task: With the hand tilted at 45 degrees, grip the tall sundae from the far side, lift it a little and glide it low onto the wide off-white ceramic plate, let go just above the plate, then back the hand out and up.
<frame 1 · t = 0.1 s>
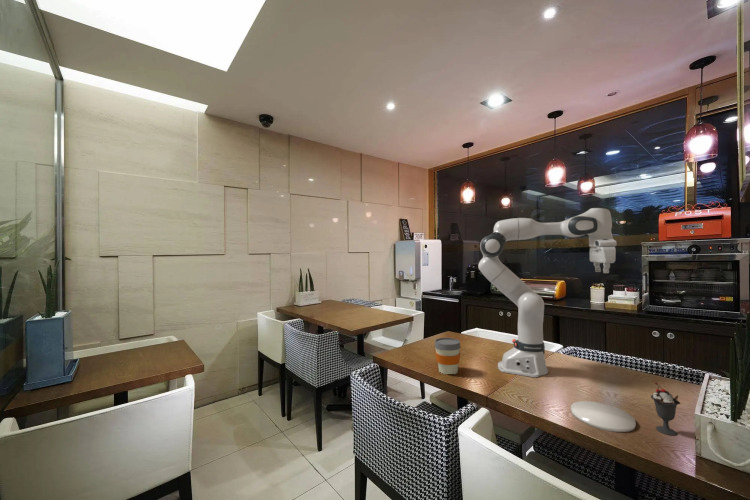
hand: (601, 272, 139), 48 cm above the table, tool pointing down, fingers open, 8 cm apart
sundae: (666, 431, 96), on the table
serving plate: (601, 417, 105), on the table
reusable coffee cup: (448, 371, 149), on the table
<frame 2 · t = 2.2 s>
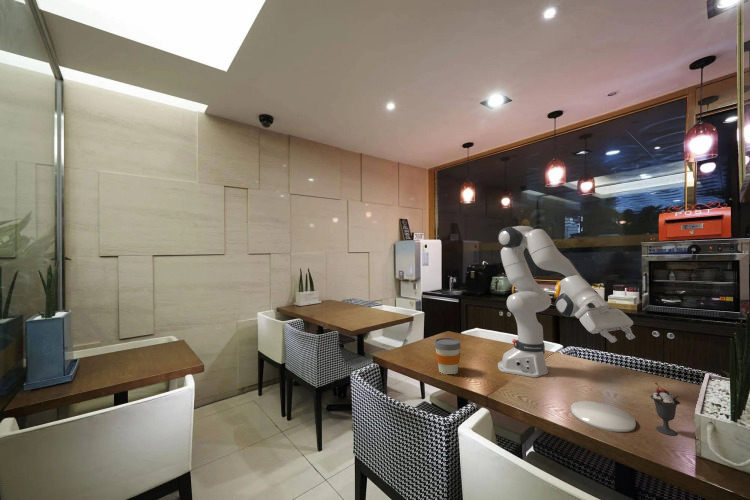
hand: (623, 340, 108), 26 cm above the table, tool tilted 45°, fingers open, 8 cm apart
nothing on the table moved.
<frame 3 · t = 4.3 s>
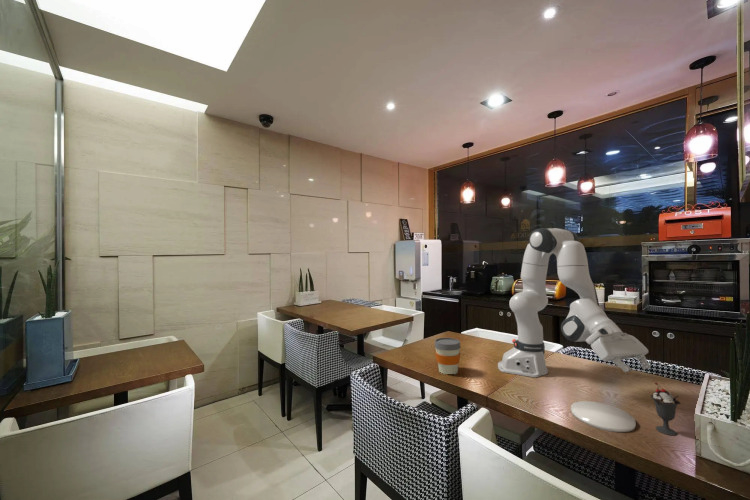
hand: (638, 369, 103), 17 cm above the table, tool tilted 45°, fingers open, 8 cm apart
nothing on the table moved.
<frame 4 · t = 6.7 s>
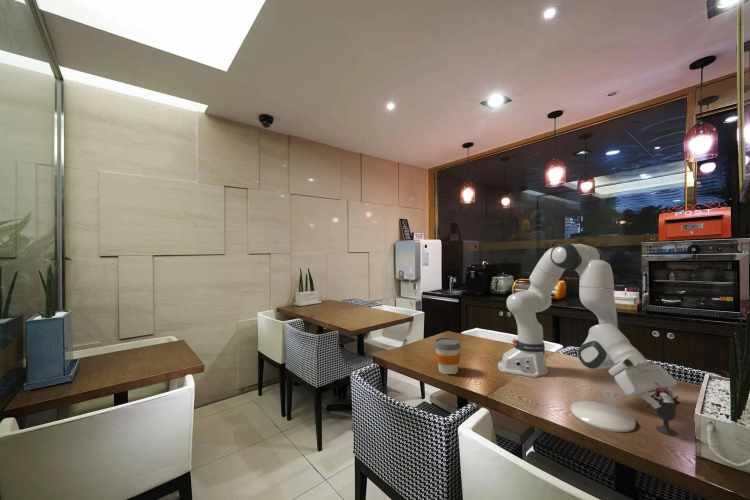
hand: (667, 405, 95), 8 cm above the table, tool tilted 45°, fingers closed on sundae, 7 cm apart
sundae: (666, 431, 96), on the table, touching gripper
everything else where it was.
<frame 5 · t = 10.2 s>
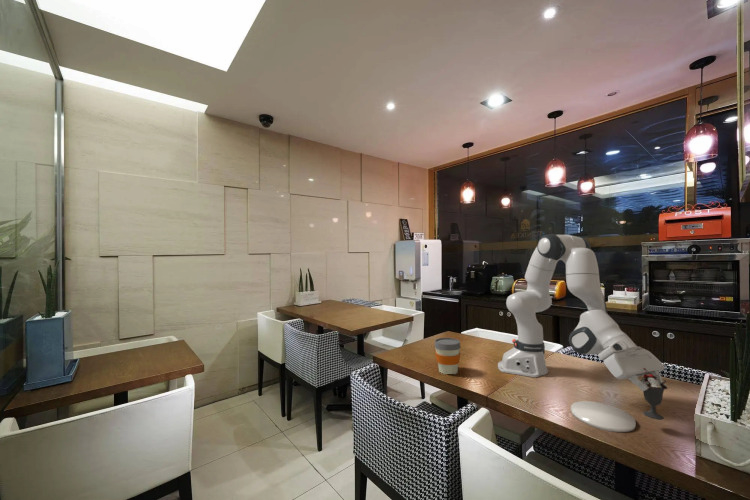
hand: (654, 388, 97), 13 cm above the table, tool tilted 45°, fingers closed on sundae, 7 cm apart
sundae: (653, 416, 97), point 4 cm above the table, touching gripper
everything else where it was.
when the fingers open (11 cm above the table, at t = 14.0 s): sundae stays where it is, resting on serving plate.
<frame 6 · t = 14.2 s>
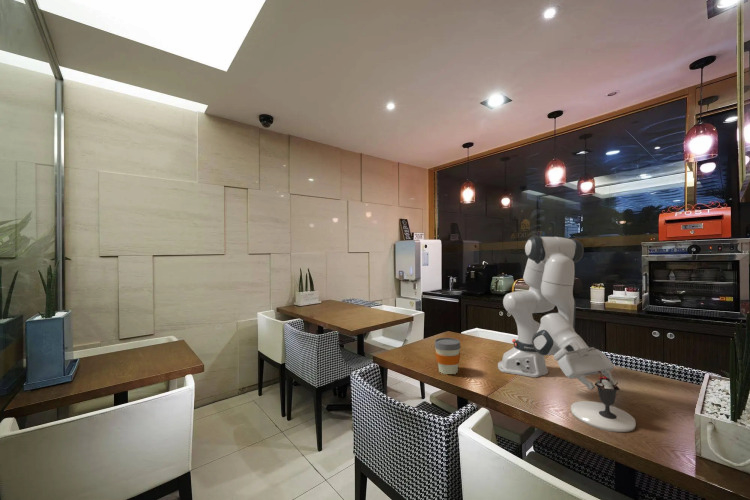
hand: (602, 386, 105), 11 cm above the table, tool tilted 45°, fingers open, 8 cm apart
sundae: (607, 415, 104), point 1 cm above the table, touching gripper, serving plate
everything else where it was.
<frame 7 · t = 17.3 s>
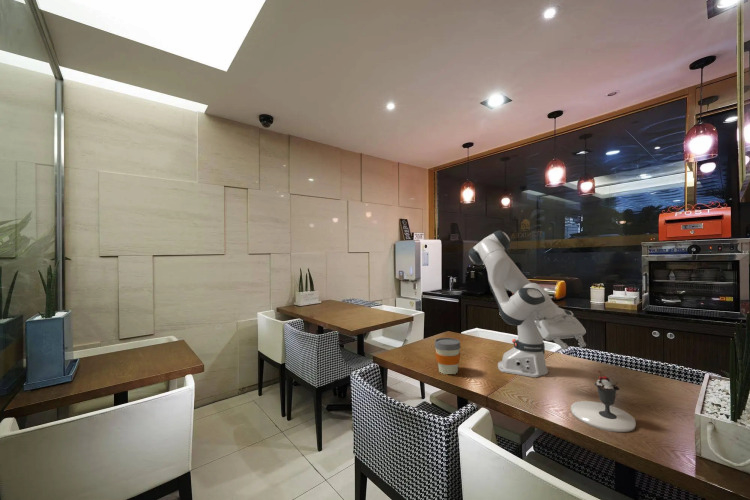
hand: (575, 347, 114), 22 cm above the table, tool tilted 45°, fingers open, 8 cm apart
sundae: (607, 415, 104), point 1 cm above the table, touching serving plate
everything else where it was.
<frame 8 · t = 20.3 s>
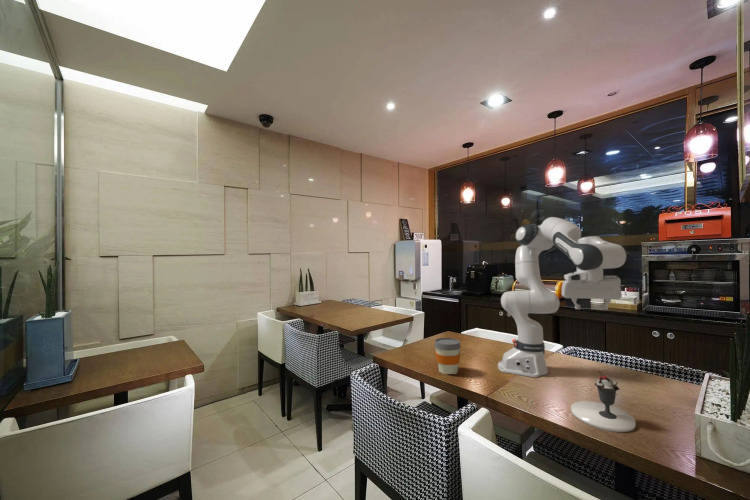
hand: (591, 309, 123), 34 cm above the table, tool pointing down, fingers open, 8 cm apart
nothing on the table moved.
at the end: sundae inside the target area on the serving plate (1.7 cm from its centre), point 1.0 cm above the serving plate's base; sundae tilted 0°; the gripper is holding nothing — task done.
